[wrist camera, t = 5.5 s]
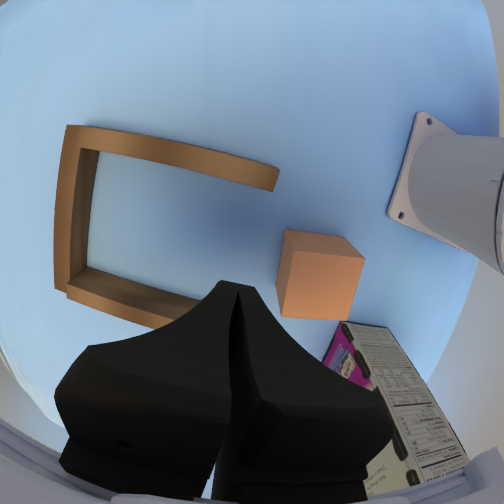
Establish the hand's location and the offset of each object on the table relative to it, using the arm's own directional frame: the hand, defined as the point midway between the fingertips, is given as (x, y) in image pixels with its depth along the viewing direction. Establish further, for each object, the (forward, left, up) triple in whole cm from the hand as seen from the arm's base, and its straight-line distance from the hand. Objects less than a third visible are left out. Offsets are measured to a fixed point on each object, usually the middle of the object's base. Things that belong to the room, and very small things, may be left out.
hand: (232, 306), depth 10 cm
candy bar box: (-12, +9, -9) cm, 17 cm away
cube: (-5, 0, -8) cm, 10 cm away
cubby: (+6, +1, -8) cm, 10 cm away
